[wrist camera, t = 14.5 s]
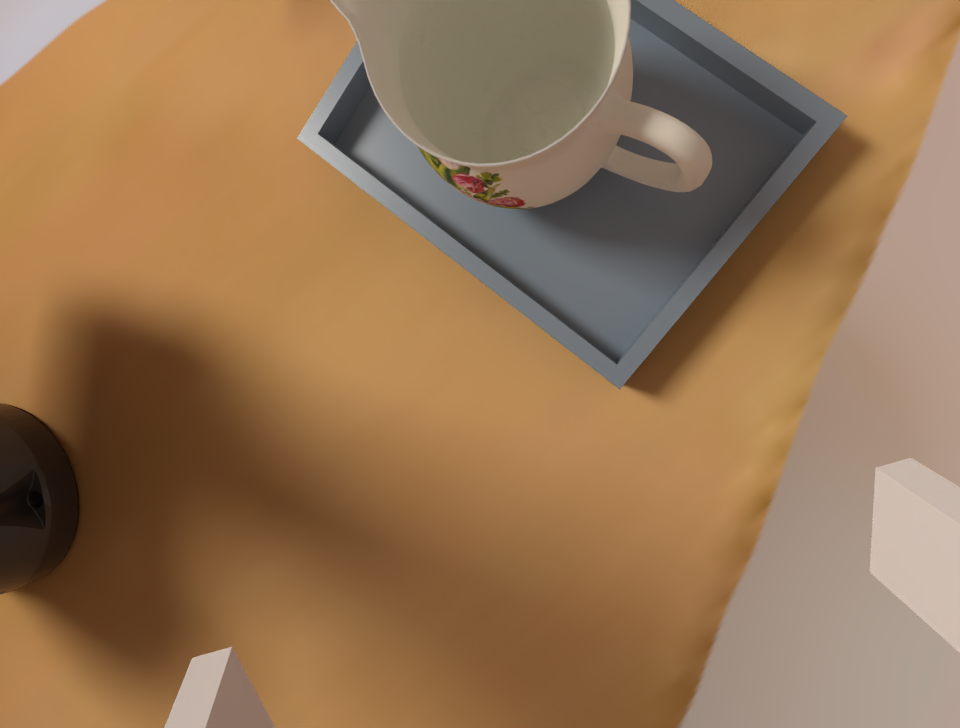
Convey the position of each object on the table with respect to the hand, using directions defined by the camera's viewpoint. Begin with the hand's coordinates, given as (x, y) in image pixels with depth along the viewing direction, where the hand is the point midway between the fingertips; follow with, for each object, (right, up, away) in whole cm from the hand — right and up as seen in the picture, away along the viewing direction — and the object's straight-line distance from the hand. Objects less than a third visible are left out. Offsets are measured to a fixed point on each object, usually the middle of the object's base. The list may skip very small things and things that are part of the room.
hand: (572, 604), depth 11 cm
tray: (+2, +18, +24) cm, 30 cm away
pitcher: (+2, +18, +23) cm, 29 cm away
